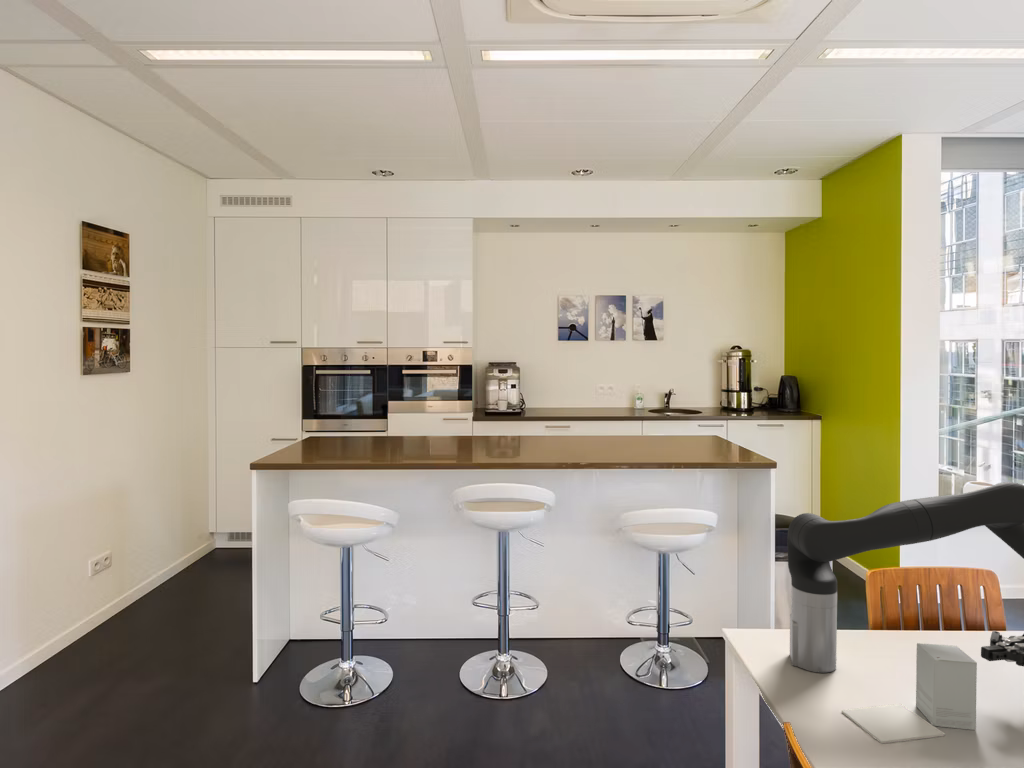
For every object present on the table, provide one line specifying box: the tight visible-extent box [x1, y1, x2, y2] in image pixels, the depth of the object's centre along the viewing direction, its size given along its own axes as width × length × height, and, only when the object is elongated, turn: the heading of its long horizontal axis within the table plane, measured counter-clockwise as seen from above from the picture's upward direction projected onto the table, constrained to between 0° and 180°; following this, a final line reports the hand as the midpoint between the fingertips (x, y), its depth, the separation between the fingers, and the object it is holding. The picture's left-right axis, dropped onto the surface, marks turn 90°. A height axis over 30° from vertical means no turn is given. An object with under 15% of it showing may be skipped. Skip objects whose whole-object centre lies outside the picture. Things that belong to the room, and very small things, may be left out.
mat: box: [841, 703, 946, 744], centre depth 114 cm, size 13×10×1 cm
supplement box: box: [915, 642, 978, 731], centre depth 116 cm, size 7×7×13 cm
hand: (984, 654), depth 117 cm, fingers closed
